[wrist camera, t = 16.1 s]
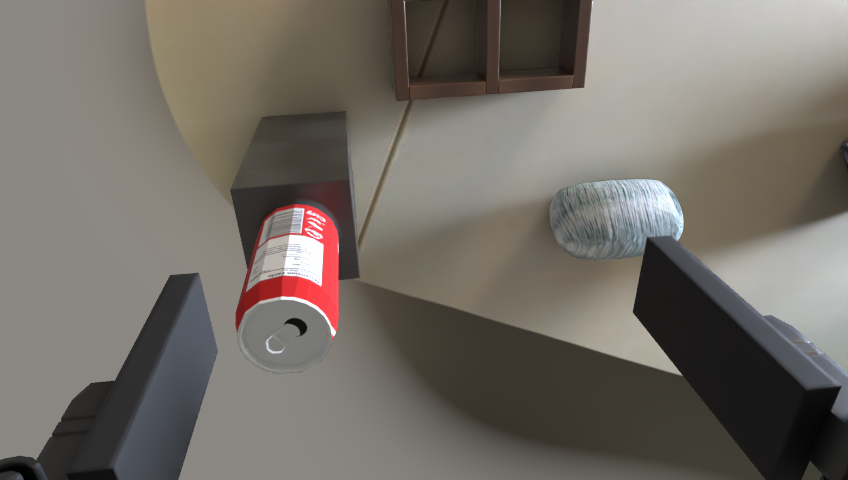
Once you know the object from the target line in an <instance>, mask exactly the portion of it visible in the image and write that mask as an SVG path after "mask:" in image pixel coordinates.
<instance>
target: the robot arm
mask: <svg viewBox="0 0 848 480" xmlns="http://www.w3.org/2000/svg"><path fill="white" fill-rule="evenodd" d="M633 313H634V314H635V316H636V317H637V318H638V319H639V321H640V322H641V323H642V325H643V326H644V327H645V328H646V330H647V331H648V332H649V333H650V335H651V336H652V337H653V338H654V340H655V341H656V342H657V343H658V345H659V346H660V347H661V348H662V350H663V351H664V352H665V353H666V355H667V356H668V357H669V359H670V360H671V361H672V362H673V364H674V365H675V366H676V367H677V369H678V370H679V371H680V372H681V374H682V375H683V376H684V377H685V379H686V380H687V381H688V382H689V384H690V385H691V386H692V387H693V389H694V390H695V391H696V393H697V394H698V395H699V396H700V397H701V399H702V400H703V401H704V403H705V404H706V405H707V406H708V407H709V409H710V410H711V411H712V413H713V414H714V415H715V416H716V418H717V419H718V420H719V421H720V422H721V424H722V425H723V426H724V428H725V429H726V430H727V431H728V433H729V434H730V435H731V436H732V438H733V439H734V440H735V442H736V443H737V444H738V445H739V447H740V448H741V449H742V450H743V452H744V453H745V454H746V455H747V457H748V458H749V459H750V461H751V462H752V463H753V464H754V466H755V467H756V468H757V469H758V471H759V472H760V473H761V474H762V476H763V477H764V478H765V479H766V480H801V479H802V477H803V475H804V472H805V470H806V468H807V465H808V463H809V461H811V462H812V463H813V464H814V465H815V466H816V467H817V468H818V470H819V471H821V473H822V476H821V478H820V480H848V373H847V372H846V371H845V370H843V369H842V368H841V367H840V366H839V365H837V364H836V363H835V362H834V361H833V360H832V359H830V358H829V357H828V356H827V355H826V354H822V353H821V350H820V349H819V348H817V347H816V346H815V345H814V344H813V343H809V342H808V339H807V338H806V337H804V336H803V335H802V334H801V333H800V332H798V331H797V330H796V329H795V328H794V327H792V326H791V325H789V324H787V323H785V322H783V321H781V320H779V319H777V318H775V317H773V316H771V315H770V316H762V315H761V314H760V313H759V312H757V311H756V310H755V309H754V308H753V307H752V306H751V305H750V304H748V303H747V302H746V301H745V300H744V299H743V298H742V297H740V296H739V295H738V294H737V293H736V292H735V291H734V290H732V289H731V288H730V287H729V286H728V285H727V284H726V283H725V282H723V281H722V280H721V279H720V278H719V277H718V276H717V275H715V274H714V273H713V272H712V271H711V270H710V269H709V268H707V267H706V266H705V265H704V264H703V263H702V262H701V261H699V260H698V259H697V258H696V257H695V256H694V255H693V254H692V253H690V252H689V251H688V250H687V249H686V248H685V247H684V246H682V245H681V244H680V243H679V242H678V241H677V240H676V239H674V238H673V237H672V236H671V235H668V236H656V237H647V239H646V245H645V250H644V255H643V261H642V266H641V271H640V277H639V282H638V287H637V292H636V298H635V303H634V308H633ZM217 351H218V350H217V346H216V342H215V338H214V334H213V330H212V326H211V321H210V318H209V313H208V309H207V305H206V301H205V296H204V292H203V288H202V284H201V280H200V276H199V273H192V274H179V275H170V277H169V279H168V281H167V282H166V284H165V286H164V288H163V290H162V292H161V294H160V296H159V298H158V299H157V301H156V303H155V305H154V307H153V309H152V311H151V313H150V315H149V317H148V319H147V320H146V323H145V324H144V326H143V328H142V330H141V332H140V334H139V336H138V338H137V340H136V342H135V343H134V345H133V347H132V349H131V351H130V353H129V355H128V357H127V359H126V361H125V362H124V364H123V366H122V368H121V370H120V372H119V374H118V376H117V378H116V380H115V381H107V382H97V383H91V384H90V385H89V386H87V387H86V388H85V389H84V390H83V391H82V392H81V393H80V394H78V395H77V396H76V397H75V398H74V399H73V400H72V401H71V403H70V405H69V406H68V408H67V410H66V411H65V413H64V415H63V416H62V418H61V422H59V423H58V425H57V426H56V428H55V430H54V432H53V433H52V437H51V438H49V440H48V441H47V443H46V445H45V446H44V448H43V450H42V452H41V453H40V455H39V457H38V458H37V460H35V459H33V458H32V457H24V456H17V457H11V458H6V459H2V460H0V480H178V479H179V475H180V472H181V469H182V466H183V462H184V459H185V456H186V453H187V449H188V446H189V443H190V439H191V436H192V433H193V430H194V427H195V423H196V420H197V417H198V414H199V411H200V407H201V404H202V400H203V397H204V394H205V391H206V388H207V385H208V381H209V378H210V374H211V372H212V368H213V365H214V362H215V359H216V355H217Z"/></svg>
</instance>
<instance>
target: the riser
mask: <svg viewBox="0 0 848 480" xmlns="http://www.w3.org/2000/svg"><path fill="white" fill-rule="evenodd" d="M230 190H231V195H232V199H233V204H234V209H235V213H236V218H237V222H238V227H239V232H240V237H241V241H242V246H243V250H244V255H245V260H246V264H247V269H248V268H249V264H250V260H251V257H252V253H253V250H254V246H255V243H256V239H257V235H258V232H259V230H260V227H261V225H262V223H263V220H264V219H265V218H266V217H267V216H268V215H269V214H271V213H272V212H273V211H274V210H275V209H277V208H281V207H285V206H289V205H293V204H300V205H308V206H311V207H314V208H317V209H318V210H320V211H322V212H323V213H325V214H326V215H327V216H328V217H329V218H330V219H331V220H332V222H333V224H334V225H335V227H336V229H337V233H338V280H344V279H354V278H360V266H359V252H358V237H357V223H356V208H355V193H354V182H353V172H352V162H351V152H350V143H349V133H348V123H347V113H346V111H340V112H326V113H312V114H298V115H284V116H270V117H262V119H261V121H260V123H259V125H258V128H257V130H256V132H255V134H254V137H253V139H252V141H251V144H250V146H249V148H248V150H247V153H246V155H245V157H244V160H243V162H242V164H241V166H240V169H239V171H238V173H237V175H236V178H235V180H234V182H233V185H232V187H231V189H230Z"/></svg>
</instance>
